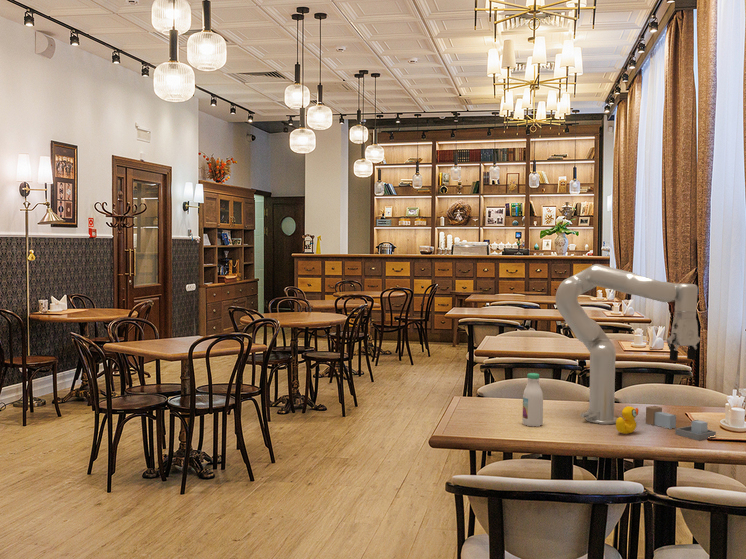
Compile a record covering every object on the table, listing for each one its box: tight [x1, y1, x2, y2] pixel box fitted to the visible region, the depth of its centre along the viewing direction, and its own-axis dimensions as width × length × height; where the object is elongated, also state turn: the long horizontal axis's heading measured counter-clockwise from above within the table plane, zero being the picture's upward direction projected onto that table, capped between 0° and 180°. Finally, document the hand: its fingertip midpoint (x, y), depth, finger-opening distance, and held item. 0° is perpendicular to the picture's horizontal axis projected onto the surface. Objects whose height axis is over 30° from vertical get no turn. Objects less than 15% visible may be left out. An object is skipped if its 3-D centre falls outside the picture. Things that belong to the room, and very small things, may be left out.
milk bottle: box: [522, 372, 544, 427], centre depth 267 cm, size 8×8×20 cm
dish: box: [674, 425, 717, 441], centre depth 253 cm, size 10×10×2 cm
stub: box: [690, 419, 708, 434], centre depth 251 cm, size 4×4×5 cm
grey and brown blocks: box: [645, 405, 677, 430], centre depth 267 cm, size 5×10×6 cm, turn 29°
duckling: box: [615, 405, 639, 435], centre depth 255 cm, size 11×5×10 cm, turn 122°
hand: (682, 359), depth 263 cm, fingers open, 9 cm apart
